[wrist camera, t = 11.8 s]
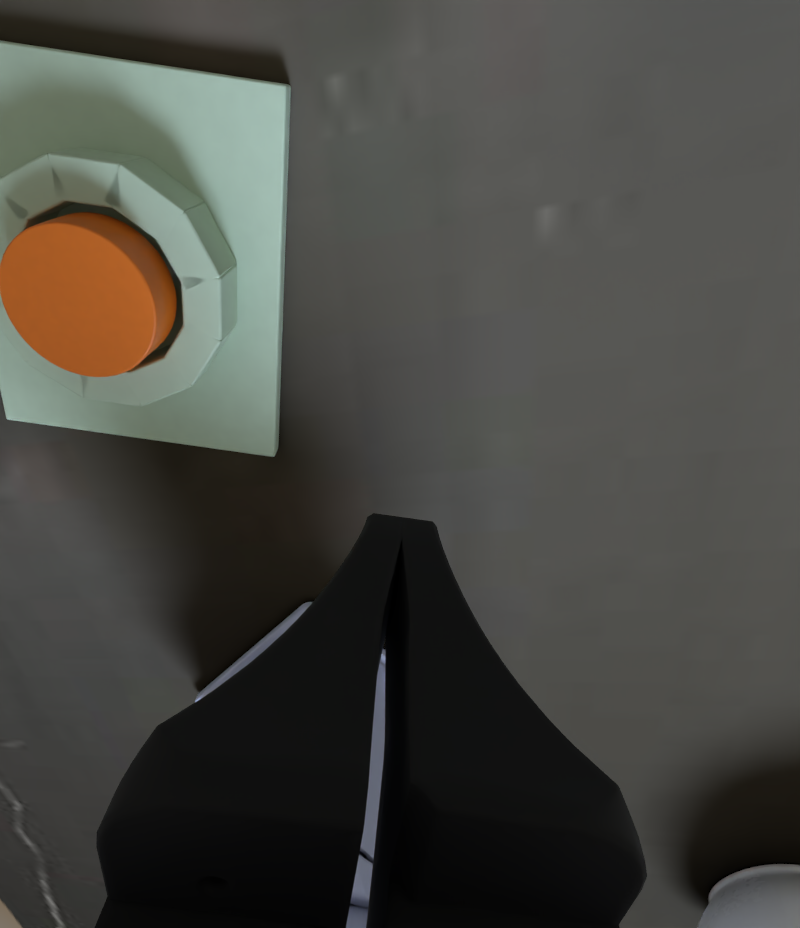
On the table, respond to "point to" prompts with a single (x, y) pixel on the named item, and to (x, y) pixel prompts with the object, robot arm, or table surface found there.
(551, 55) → the table surface
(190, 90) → the button block
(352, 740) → the robot arm
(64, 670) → the table surface
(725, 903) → the lidded bowl
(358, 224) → the table surface
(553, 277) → the table surface
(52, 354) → the button
